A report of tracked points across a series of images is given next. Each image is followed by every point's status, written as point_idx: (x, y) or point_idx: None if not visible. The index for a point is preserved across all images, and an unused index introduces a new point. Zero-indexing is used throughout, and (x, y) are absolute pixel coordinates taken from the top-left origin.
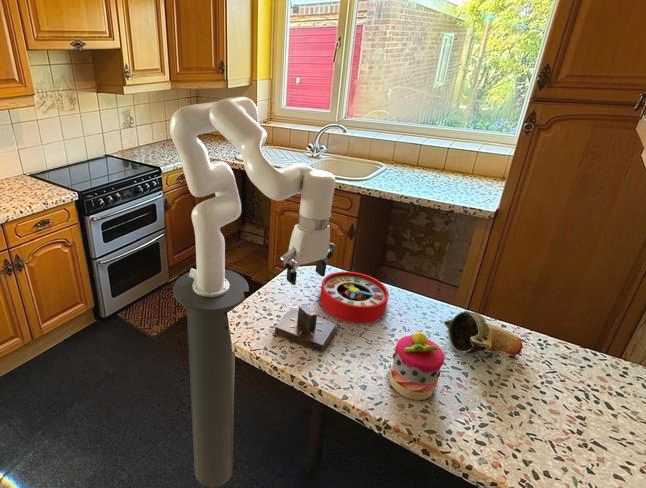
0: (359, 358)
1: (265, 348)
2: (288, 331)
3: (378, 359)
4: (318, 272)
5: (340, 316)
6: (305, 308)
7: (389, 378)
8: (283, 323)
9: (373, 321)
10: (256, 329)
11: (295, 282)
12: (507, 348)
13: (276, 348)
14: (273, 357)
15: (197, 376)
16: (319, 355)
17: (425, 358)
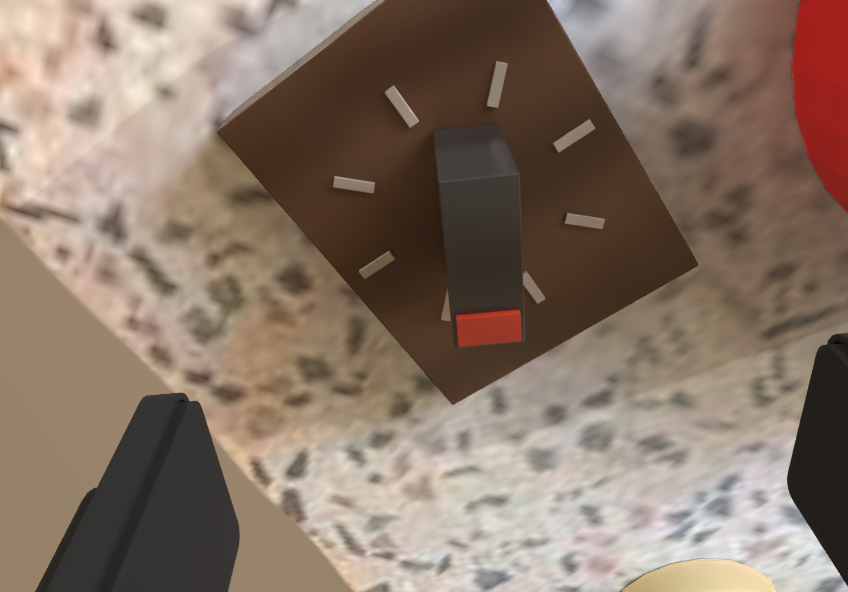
0: (612, 461)
1: (113, 224)
2: (297, 219)
3: (695, 493)
4: (816, 430)
5: (820, 158)
6: (481, 233)
7: (634, 583)
8: (301, 118)
9: None
10: (99, 2)
11: (231, 565)
12: None
13: (189, 249)
14: (142, 309)
15: None
16: (423, 382)
17: None
